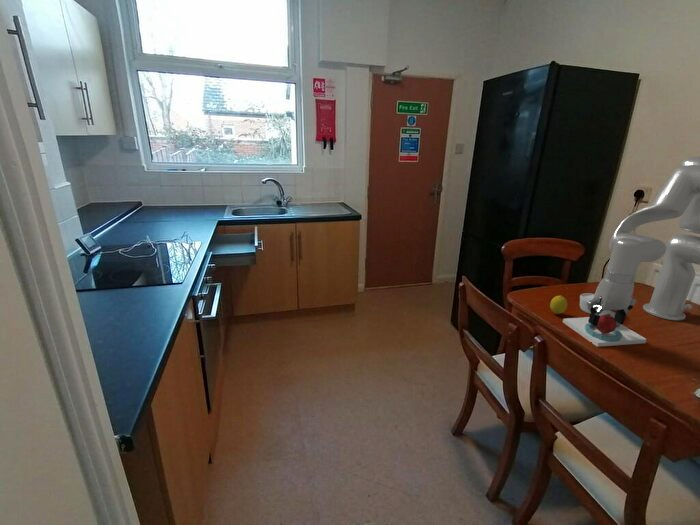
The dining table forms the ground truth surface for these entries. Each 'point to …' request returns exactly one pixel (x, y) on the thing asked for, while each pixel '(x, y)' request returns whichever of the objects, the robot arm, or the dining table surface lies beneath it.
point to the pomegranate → (606, 324)
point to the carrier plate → (609, 339)
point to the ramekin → (584, 299)
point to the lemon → (558, 304)
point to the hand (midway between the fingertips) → (605, 323)
